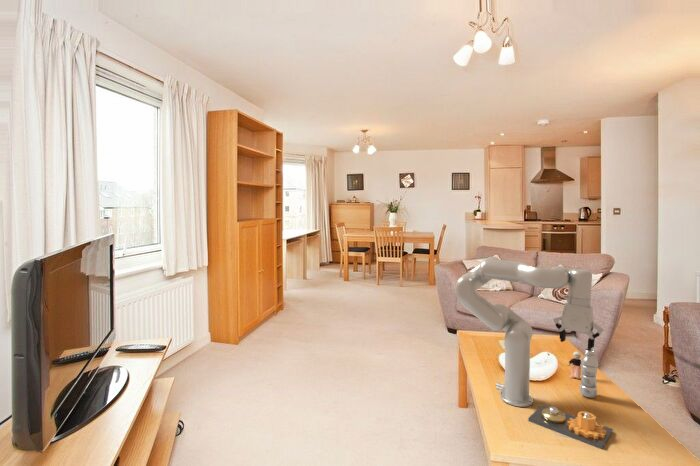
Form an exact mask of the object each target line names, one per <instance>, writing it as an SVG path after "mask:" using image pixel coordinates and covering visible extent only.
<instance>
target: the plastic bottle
mask: <svg viewBox="0 0 700 466" xmlns="http://www.w3.org/2000/svg"><path fill="white" fill-rule="evenodd" d="M595 352H596V351H595V350H594V349H593V348H591V349H588V348H585V349H584V355H583V356H582V357H581V358H580V360H581V364H580V366H581V379H580V385H579V392H580V394H581V396H583V397H586V398H588V399H589V398H590V399H593V398H596V397H597V396H598V387H597V373H598V368H599V362H598V360H597V358H596V357H595V355H596V353H595Z"/></svg>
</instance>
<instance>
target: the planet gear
mask: <svg viewBox="0 0 700 466" xmlns="http://www.w3.org/2000/svg"><path fill="white" fill-rule="evenodd" d="M584 413H588V414H589V415H590V418H586V417H584ZM598 424H599V423H598V422H597V416H596V415H595V414H594V413H591V412H588V411H579V412H578V413H577V417H576V419H572V418H570V419H569V421H568V422H567V425H568V426H569V429H570V430H573V431H575V434H577V435H579V434H580V435H583V436H585V438H588V437H592V438H594V439H598V437H601V438H605V435H606V430H604V427H603V426H604V425H603V424H600V425H598ZM602 425H603V426H602Z"/></svg>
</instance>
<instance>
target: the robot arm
mask: <svg viewBox="0 0 700 466" xmlns="http://www.w3.org/2000/svg"><path fill="white" fill-rule="evenodd" d="M492 280H498V281H506V282H512V283H513V282H514V283H520V284H523V285H528V286H533V287H538V288H544V289H545V288H546V289H553V290H559V289H563V288H565V287H566V286H568V287H567V288H568V290H567V291H568V292H567V295H564V297H563V299H564V300H566V302H565V303H564V305H563V311H562V314H561V316H558V317H554V318H553V319H552V320H553V322H554V325H555V327H556V329H558V331H559V339H560V342H561V343H563V342H565V341H566V340H567V338H566V336H567V331H566V330H568V331H572V332H576V333H581V334H586V335H587V336H588V339H587V349H593V348H594V347H595V339H596V338H598V337H600V336H601V334H602V333H603V331H604V328H603V327H601V326H600V325H598V324H596V323H595V322H594V321H595V320H594V319H595V318H594V310H593V307H592V305H591V299H592V285H593V284H592V283H593V273H592V271H590V270H589V269H585V268H570V267H564V266H560V265H559V266H558V265H555V266H553V267H551V268H545V267H536V266H531V265H529V264H526V263H525V262H521V261H517V260H505V259H500V258H498V257H495V256H490V257H489V256H488V257H486V258H484V259H483V260H482V261H480V262H479V264H478V265H477V266H475V267H474V268H472V269H471V270H470V271H468V272H467V273H464V274H463V275H462V276H460V277H459V278H458V279H457V281H456V283H455V287H454V291H455V292H454V293H455V296H456V299H457V301H458V302H459V304H461V306H463V308H465V309H466V310H467V311H469V312H470V313H471V314H472V315H473V316H475V317H476V318H477V319H478V320H479V321H480V322H482V323H483V324H485V325H486V326H487V327H488V328H489V329H491V330H492V331H495V332H498V331H501V330H503V331H504V332H505V335H504V384H502V383H500V382H496V383H495V389H496V390H498V391H501V392H500V399H501V400H502V401H503V402H504V403H506V404H508V405H511V406H514V407H521V408H523V407H530V406H533V404H534V399H533V397H532V396H531V395H530V377H531V376H530V374H531V373H530V369H531V340H532V337H533V335H534V333H533V327H532V326H531V325H530V324H529V322H528V321H527V320H525V319H523V318H522V317H521V316H520V315H519V314H517V313H516V312H514V311H513V309H511V308H510V307H508V306H506V305H504V304H500V303H498V304H497V303H495V304H493V303H491V302H490V301H489V300H488V299H487V298H485V297H483V296H482V295H480V294H478V293H477V290H479V289H481V287H483V286H484V285H485V284H487V283H488V282H490V281H492ZM560 321H561V323H560ZM594 329H595V330H596V333H594ZM604 332H605V331H604Z"/></svg>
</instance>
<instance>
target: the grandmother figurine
mask: <svg viewBox="0 0 700 466" xmlns="http://www.w3.org/2000/svg"><path fill="white" fill-rule="evenodd" d="M581 358H582V354H581V353H580V352H579V351H574V352H573V357H572V358H571V359H570V360H569V361H568V363H567V367H570V366H571V371H570V376H569V378H570V379H575V378H576V380H581V379H582V377H581V376H582V368H581Z"/></svg>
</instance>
